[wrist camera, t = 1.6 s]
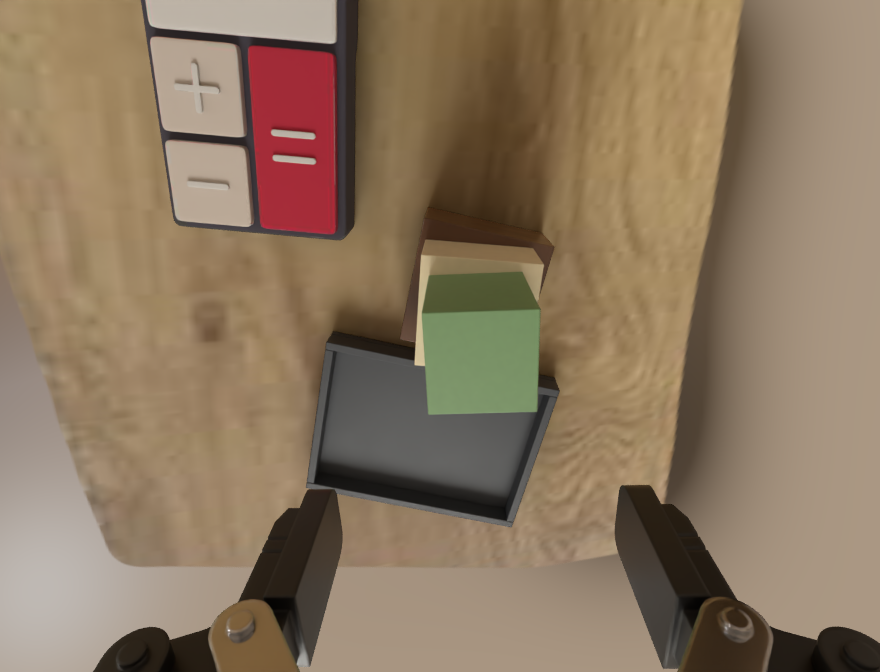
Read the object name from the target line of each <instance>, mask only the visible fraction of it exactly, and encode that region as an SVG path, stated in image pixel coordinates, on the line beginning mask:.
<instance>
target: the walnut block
mask: <svg viewBox="0 0 880 672" xmlns="http://www.w3.org/2000/svg"><path fill="white" fill-rule="evenodd" d="M425 240H439V241H451V242H464V243H476V244H488V245H501V246H513V247H526V248H533V249H534V250H535V252H536V253H537V255H538V256H539V258H540V259H541V261H542V262H543V264H544V268H543V275H542V281H541V287H540V293H541V289H542V286H543V283H544V280H545V276H546V273H547V270H548V267H549V263H550V260H551V257H552V254H553V251H554V246H553V245H552V244H551V243H550V241H549V240H548V239H547V238H546V237H545V236H544V234H543V233H540V232H536V231H531V230H527V229H523V228H518V227H514V226H509V225H505V224H501V223H496V222H492V221H487V220H483V219H478V218H474V217H470V216H465V215H461V214H456V213H452V212H448V211H443V210H439V209H434V208H430V207H428V209H427V212H426V214H425V217H424V221H423V226H422V231H421V236H420V241H419V246H418V251H417V255H416V260H415V265H414V270H413V275H412V280H411V285H410V290H409V295H408V300H407V305H406V310H405V315H404V320H403V325H402V330H401V335H400V339H401V340H406V341H411V342H416V331H417V314H418V298H419V281H420V265H421V254H422V250H423V247H424V243H425ZM539 296H540V294H539Z"/></svg>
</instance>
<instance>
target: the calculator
mask: <svg viewBox="0 0 880 672" xmlns="http://www.w3.org/2000/svg"><path fill="white" fill-rule="evenodd" d="M141 3H142V10H143V17H144V24H145V30H146V37H147V44H148V51H149V57H150V64H151V71H152V78H153V84H154V91H155V98H156V105H157V111H158V118H159V125H160V131H161V138H162V145H163V152H164V158H165V165H166V172H167V179H168V185H169V192H170V199H171V206H172V212H173V218H174V221H175V222H176V224H178V225H180V226H186V227H197V228H208V229H219V230H230V231H241V232H252V233H263V234H274V235H285V236H296V237H307V238H319V239H330V240H342V239H344V238H345V237H346V236H347V235H348V233H349V232H350V231H351V230H352V228H353V227H354V189H355V61H356V51H357V38H358V0H141Z"/></svg>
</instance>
